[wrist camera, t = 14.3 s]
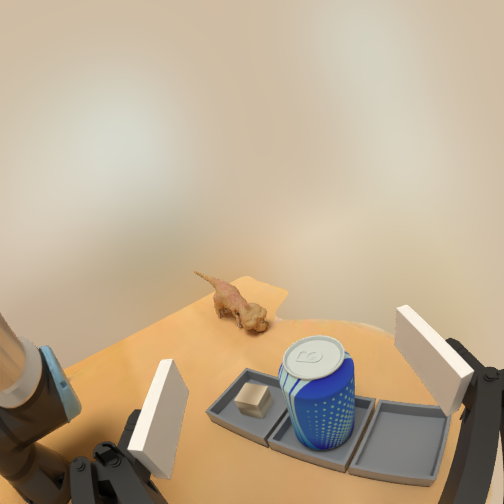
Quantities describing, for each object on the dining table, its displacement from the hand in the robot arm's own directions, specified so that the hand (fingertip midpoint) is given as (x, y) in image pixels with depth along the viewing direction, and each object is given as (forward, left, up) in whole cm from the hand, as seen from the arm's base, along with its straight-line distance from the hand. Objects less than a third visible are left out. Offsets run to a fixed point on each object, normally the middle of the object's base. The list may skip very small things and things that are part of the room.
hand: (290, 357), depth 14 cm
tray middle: (-4, +9, -26) cm, 28 cm away
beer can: (-4, +9, -26) cm, 28 cm away
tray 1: (-16, +9, -26) cm, 32 cm away
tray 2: (+8, +9, -26) cm, 29 cm away
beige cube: (-16, +9, -25) cm, 31 cm away
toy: (-36, +31, -26) cm, 54 cm away
